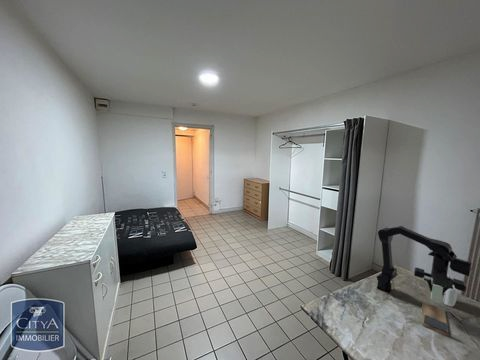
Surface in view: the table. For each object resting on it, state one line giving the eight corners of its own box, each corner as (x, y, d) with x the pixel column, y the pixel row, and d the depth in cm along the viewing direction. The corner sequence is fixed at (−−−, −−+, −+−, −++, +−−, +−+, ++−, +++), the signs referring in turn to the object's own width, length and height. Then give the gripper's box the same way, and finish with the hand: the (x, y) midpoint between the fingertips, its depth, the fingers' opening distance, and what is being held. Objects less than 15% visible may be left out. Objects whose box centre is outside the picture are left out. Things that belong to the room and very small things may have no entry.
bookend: (423, 322, 97) (424, 315, 96) (423, 321, 98) (424, 314, 97) (446, 332, 91) (448, 325, 91) (446, 331, 92) (447, 324, 92)
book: (431, 300, 101) (433, 284, 100) (430, 292, 107) (432, 277, 106) (440, 303, 99) (443, 288, 97) (439, 295, 104) (441, 280, 103)
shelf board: (422, 325, 97) (422, 323, 97) (421, 302, 111) (422, 301, 111) (448, 336, 91) (448, 334, 91) (444, 311, 105) (444, 309, 105)
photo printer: (446, 296, 117) (449, 277, 115) (457, 300, 113) (460, 281, 111) (442, 303, 111) (445, 283, 109) (453, 308, 107) (456, 288, 106)
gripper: (415, 265, 101) (412, 292, 103) (470, 281, 88) (465, 311, 90) (416, 257, 109) (412, 282, 111) (466, 270, 96) (461, 298, 98)
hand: (436, 293), depth 102 cm, fingers closed on book, 3 cm apart
